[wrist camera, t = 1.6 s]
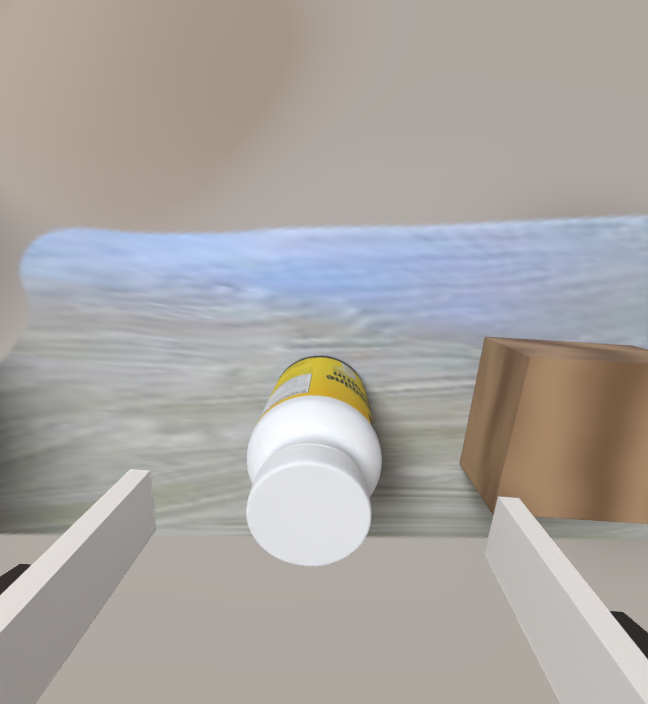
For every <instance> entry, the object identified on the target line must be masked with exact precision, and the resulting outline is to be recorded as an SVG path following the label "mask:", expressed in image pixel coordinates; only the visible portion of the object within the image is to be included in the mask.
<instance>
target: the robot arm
mask: <svg viewBox="0 0 648 704" xmlns="http://www.w3.org/2000/svg"><path fill="white" fill-rule="evenodd" d="M155 531H156V523H155V513H154V503H153V493H152V484H151V474H150V470H136V469H130V470H129V471H128V472H127V473H126V474H125V475H124V476H123V477H122V478H121V479H120V480H119V481H118V482H117V483H116V484H115V485H113V486H112V487H111V488H110V489H109V490H108V491H107V492H106V493H105V494H104V495H103V496H102V497H101V498H100V499H99V500H98V501H97V502H96V503H95V504H94V505H93V506H92V507H91V508H90V509H89V510H88V511H87V512H86V513H85V514H84V515H83V516H82V517H80V518H79V519H78V520H77V521H76V522H75V523H74V524H73V525H72V526H71V527H70V528H69V529H68V530H67V531H66V532H65V533H64V534H63V535H62V536H61V537H60V538H59V539H58V540H57V541H56V542H55V543H54V544H53V545H52V546H51V547H50V548H49V549H48V550H46V552H44V553H43V554H42V555H41V556H40V557H39V558H38V559H37V560H36V561H35V562H34V563H33V564H32V565H28V564H19V565H18V566H16V567H15V568H13V569H11V570H10V571H8V572H7V573H5V574H4V575H2V576H1V577H0V704H36V702H37V701H38V700H39V698H40V697H41V695H42V694H43V692H44V691H45V689H46V688H47V687H48V685H49V684H50V682H51V681H52V679H53V678H54V676H55V675H56V674H57V672H58V671H59V669H60V668H61V666H62V665H63V663H64V662H65V661H66V659H67V658H68V656H69V655H70V653H71V652H72V651H73V649H74V648H75V646H76V645H77V643H78V642H79V640H80V639H81V637H82V636H83V635H84V633H85V632H86V630H87V629H88V627H89V626H90V624H91V623H92V622H93V620H94V619H95V617H96V616H97V614H98V613H99V611H100V610H101V609H102V607H103V606H104V604H105V603H106V601H107V600H108V598H109V597H110V596H111V594H112V593H113V591H114V589H115V588H116V587H117V585H118V584H119V583H120V581H121V580H122V578H123V577H124V575H125V574H126V572H127V571H128V570H129V568H130V567H131V565H132V564H133V562H134V561H135V559H136V558H137V557H138V555H139V554H140V552H141V551H142V549H143V548H144V546H145V545H146V544H147V542H148V541H149V539H150V538H151V536H152V535H153V533H154V532H155ZM484 556H485V558H486V560H487V562H488V564H489V566H490V568H491V570H492V572H493V574H494V576H495V578H496V580H497V582H498V584H499V586H500V587H501V589H502V591H503V593H504V595H505V597H506V599H507V601H508V603H509V605H510V607H511V609H512V611H513V613H514V615H515V617H516V618H517V620H518V622H519V624H520V626H521V628H522V630H523V632H524V634H525V636H526V638H527V640H528V642H529V644H530V646H531V647H532V650H533V651H534V653H535V655H536V657H537V659H538V661H539V663H540V665H541V667H542V669H543V671H544V673H545V675H546V677H547V679H548V680H549V682H550V684H551V686H552V688H553V690H554V692H555V694H556V696H557V698H558V700H559V702H560V704H648V633H647V632H646V631H645V630H643V628H641V627H640V626H639V625H638V624H637V623H635V622H634V621H633V620H632V619H631V618H629V617H628V616H627V615H626V614H625V613H623V612H615V611H609V610H608V609H607V608H606V607H605V605H604V604H603V603H602V602H601V601H600V599H599V598H598V596H597V595H596V594H595V593H594V591H593V590H592V589H591V588H590V587H589V585H588V584H587V583H586V581H585V580H584V579H583V578H582V576H581V575H580V574H579V573H578V571H577V570H576V569H575V568H574V567H573V565H572V564H571V563H570V561H569V560H568V559H567V558H566V556H565V555H564V554H563V553H562V551H561V550H560V549H559V548H558V546H557V545H556V544H555V543H554V541H553V540H552V539H551V538H550V536H549V535H548V534H547V533H546V531H545V530H544V529H543V528H542V526H541V525H540V524H539V523H538V521H537V520H536V519H535V518H534V516H533V515H532V514H531V513H530V511H529V510H528V509H527V507H526V506H525V505H524V504H523V502H522V501H521V500H520V499H519V498H512V497H499V496H498V499H497V503H496V507H495V511H494V516H493V520H492V524H491V528H490V532H489V536H488V541H487V545H486V549H485V553H484Z"/></svg>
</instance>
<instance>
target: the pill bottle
mask: <svg viewBox="0 0 648 704" xmlns="http://www.w3.org/2000/svg"><path fill="white" fill-rule="evenodd" d="M381 467H382V455H381V448H380V444H379V439H378V436H377V432H376V429H375V426H374V422H373V418H372V415H371V411H370V407H369V403H368V399H367V395H366V392H365V388H364V385H363V383H362V380H361V379H360V377H359V375H358V374H357V373H356V371H355V370H354V369H353V368H352V367H351V366H350V365H348V364H347V363H345V362H344V361H342V360H340V359H338V358H335V357H332V356H327V355H313V356H308V357H305V358H302V359H300V360H298V361H296V362H294V363H293V364H292V365H290V366H289V367H288V368H287V369H286V370H285V371H284V372H283V374H282V375H281V377H280V378H279V380H278V382H277V384H276V386H275V388H274V390H273V392H272V394H271V396H270V398H269V400H268V402H267V404H266V406H265V408H264V410H263V412H262V414H261V416H260V418H259V420H258V422H257V424H256V426H255V428H254V431H253V433H252V435H251V438H250V441H249V445H248V449H247V468H248V473H249V477H250V480H251V483H252V488H251V491H250V494H249V497H248V502H247V511H246V514H247V522H248V526H249V528H250V531H251V533H252V535H253V537H254V538H255V540H256V541H257V542H258V544H259V545H260V546H261V547H262V548H263V549H265V550H266V551H267V552H268V553H269V554H271V555H273V556H274V557H276V558H278V559H280V560H282V561H285V562H287V563H291V564H295V565H301V566H322V565H328V564H331V563H335V562H337V561H339V560H342V559H344V558H345V557H347V556H349V555H350V554H352V553H353V552H354V551H355V550H356V549H357V548H358V547H359V546H360V545H361V543H362V542H363V541H364V539H365V537H366V535H367V534H368V532H369V528H370V525H371V503H370V496H371V495H372V493H373V492H374V490H375V488H376V486H377V483H378V481H379V477H380V473H381Z"/></svg>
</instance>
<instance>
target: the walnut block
mask: <svg viewBox="0 0 648 704" xmlns="http://www.w3.org/2000/svg"><path fill="white" fill-rule="evenodd" d="M460 465H461V467H462V468H463V470H464V471H465V473H466V474H467V476H468V477H469V479H470V480H471V482H472V483H473V485H474V486H475V488H476V489H477V491H478V493H479V494H480V496H481V497H482V499H483V500H484V502H485V503H486V505H487V506H488V508H489V509H490V511H491V512H492V514H494V511H495V507H496V503H497V499H498V496H499V497H512V498H519V499H520V500H521V501H522V502H523V504H524V505H525V506H526V507H527V509H528V510H529V511H530V513H531V514H532V515H533V516H534V517H549V518H565V519H580V520H596V521H611V522H627V523H643V524H648V350H647V349H643V348H639V347H635V346H629V345H612V344H596V343H579V342H562V341H546V340H529V339H512V338H496V337H485V339H484V344H483V349H482V355H481V360H480V365H479V370H478V375H477V380H476V385H475V390H474V395H473V400H472V405H471V410H470V415H469V420H468V425H467V430H466V436H465V441H464V446H463V451H462V456H461V461H460Z"/></svg>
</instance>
